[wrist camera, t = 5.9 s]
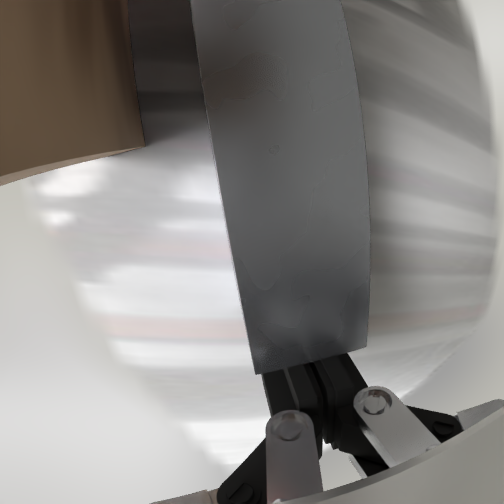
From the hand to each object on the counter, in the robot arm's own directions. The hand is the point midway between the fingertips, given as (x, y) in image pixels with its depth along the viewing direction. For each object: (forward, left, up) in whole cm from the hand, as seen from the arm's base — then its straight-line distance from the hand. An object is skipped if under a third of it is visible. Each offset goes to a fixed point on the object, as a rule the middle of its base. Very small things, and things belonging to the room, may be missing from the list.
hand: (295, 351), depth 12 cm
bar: (-9, 0, -2) cm, 9 cm away
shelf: (-12, -1, -2) cm, 12 cm away
